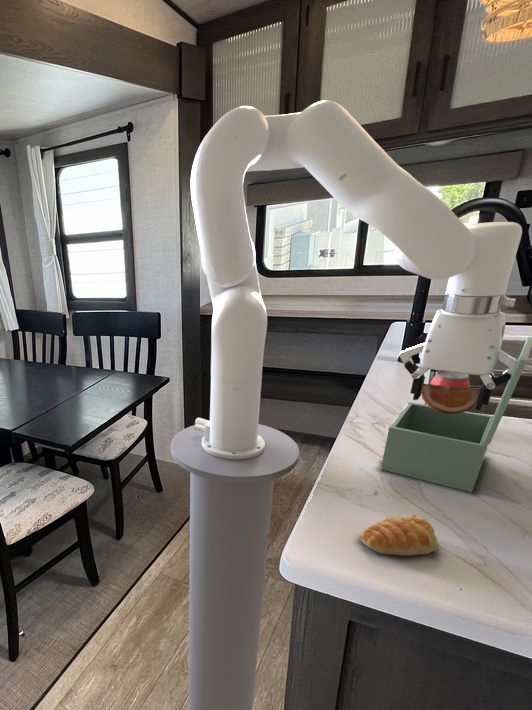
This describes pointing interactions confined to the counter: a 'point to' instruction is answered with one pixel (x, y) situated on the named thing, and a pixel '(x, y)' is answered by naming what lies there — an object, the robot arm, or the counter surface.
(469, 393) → the fruit slice
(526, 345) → the bin lid
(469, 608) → the counter surface
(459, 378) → the beer can
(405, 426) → the bin
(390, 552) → the pastry
